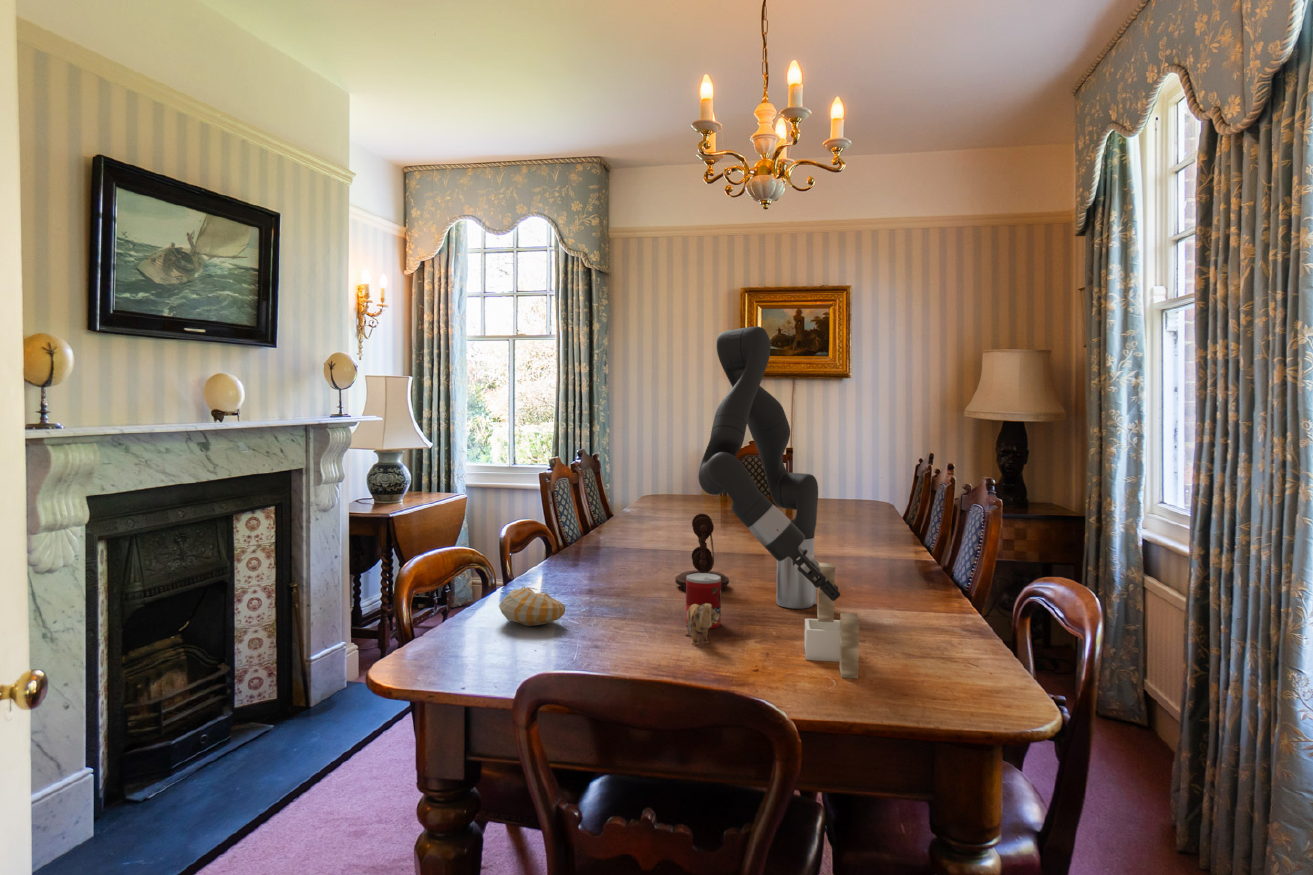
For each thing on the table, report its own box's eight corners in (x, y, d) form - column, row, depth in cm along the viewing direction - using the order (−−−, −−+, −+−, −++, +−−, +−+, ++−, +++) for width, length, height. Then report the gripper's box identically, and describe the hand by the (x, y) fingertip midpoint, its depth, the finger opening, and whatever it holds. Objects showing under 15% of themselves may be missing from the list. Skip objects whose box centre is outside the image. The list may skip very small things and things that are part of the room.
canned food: (718, 630, 165) (719, 581, 164) (683, 627, 166) (683, 579, 166) (722, 620, 172) (723, 573, 172) (688, 618, 174) (689, 572, 173)
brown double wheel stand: (731, 594, 196) (732, 519, 196) (675, 593, 197) (676, 519, 196) (726, 581, 211) (727, 511, 210) (674, 580, 211) (675, 511, 211)
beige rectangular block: (841, 677, 136) (842, 618, 136) (839, 670, 140) (840, 612, 140) (858, 678, 136) (859, 619, 135) (855, 671, 140) (856, 613, 139)
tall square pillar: (818, 621, 147) (819, 566, 146) (817, 616, 151) (818, 562, 150) (833, 622, 146) (835, 567, 146) (832, 616, 150) (833, 563, 150)
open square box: (806, 659, 146) (806, 629, 145) (804, 646, 154) (804, 618, 153) (847, 662, 145) (847, 631, 144) (843, 649, 152) (843, 620, 152)
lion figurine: (721, 648, 152) (722, 605, 152) (697, 650, 151) (698, 607, 150) (697, 627, 166) (697, 588, 166) (674, 629, 165) (675, 589, 164)
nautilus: (502, 611, 181) (564, 612, 182) (494, 632, 159) (564, 633, 161) (504, 578, 181) (566, 580, 183) (496, 595, 160) (566, 597, 161)
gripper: (790, 525, 142) (854, 591, 141) (788, 515, 156) (846, 574, 155) (762, 551, 143) (824, 617, 142) (762, 539, 157) (820, 598, 156)
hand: (835, 594), depth 148 cm, fingers closed on tall square pillar, 4 cm apart
